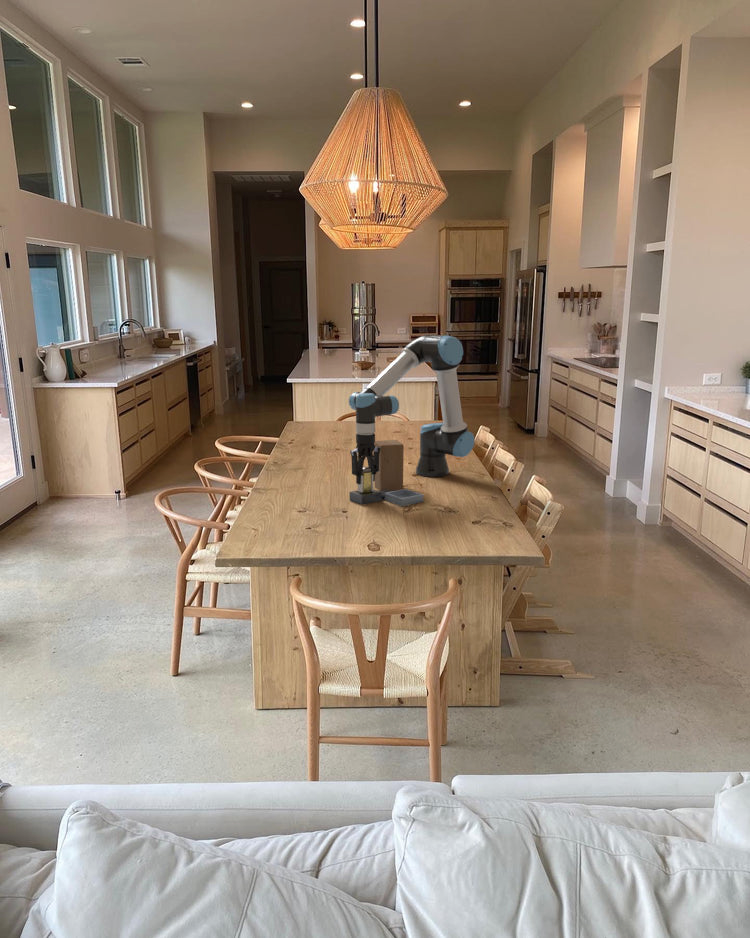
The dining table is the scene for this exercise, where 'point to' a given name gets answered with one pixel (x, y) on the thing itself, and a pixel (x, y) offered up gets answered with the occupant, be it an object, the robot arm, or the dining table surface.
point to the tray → (403, 497)
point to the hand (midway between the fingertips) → (365, 490)
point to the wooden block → (390, 465)
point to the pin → (366, 480)
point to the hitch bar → (368, 496)
